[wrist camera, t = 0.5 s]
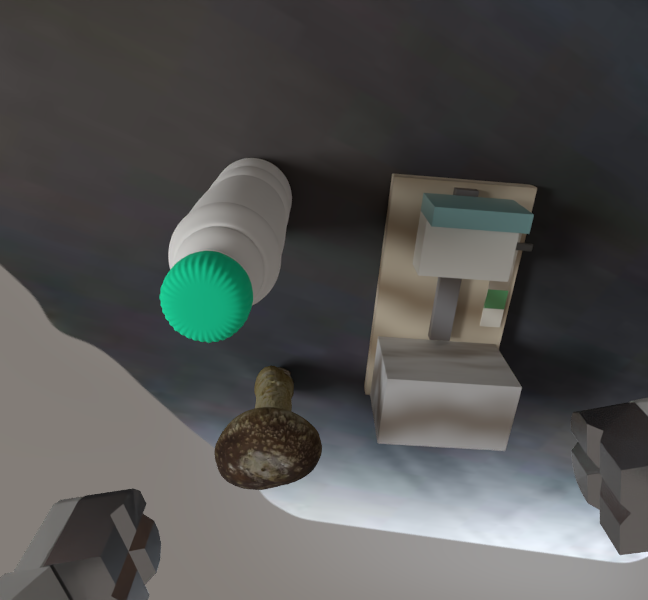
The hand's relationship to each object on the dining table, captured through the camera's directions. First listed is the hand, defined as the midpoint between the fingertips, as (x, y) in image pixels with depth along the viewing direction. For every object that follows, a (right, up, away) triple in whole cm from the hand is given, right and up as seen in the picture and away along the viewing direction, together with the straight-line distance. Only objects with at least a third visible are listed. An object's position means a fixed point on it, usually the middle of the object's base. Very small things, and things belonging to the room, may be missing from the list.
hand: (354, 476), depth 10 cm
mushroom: (-6, -4, +48) cm, 49 cm away
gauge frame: (+11, +4, +44) cm, 46 cm away
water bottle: (-7, +13, +41) cm, 43 cm away
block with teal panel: (+13, +9, +39) cm, 42 cm away
